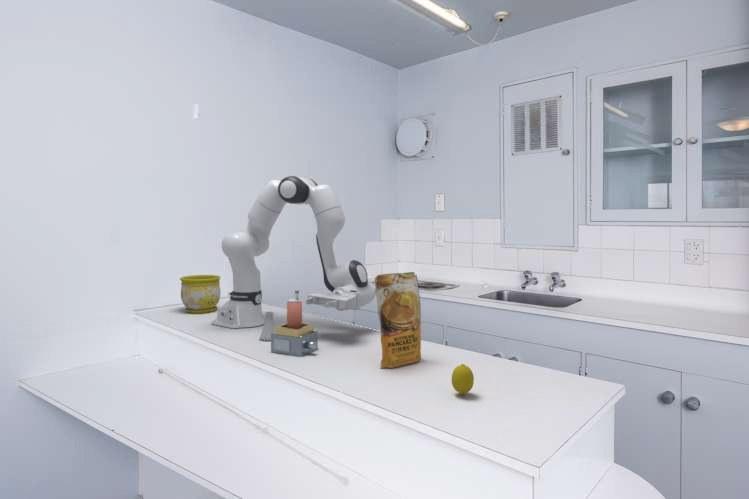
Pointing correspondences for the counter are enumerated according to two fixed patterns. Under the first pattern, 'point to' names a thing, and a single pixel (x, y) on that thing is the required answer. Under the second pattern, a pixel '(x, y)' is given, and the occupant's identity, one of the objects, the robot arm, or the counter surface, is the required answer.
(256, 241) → the robot arm
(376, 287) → the pancake mix bag
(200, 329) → the counter surface
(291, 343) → the box
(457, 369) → the lemon
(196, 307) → the flowerpot
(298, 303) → the spout can
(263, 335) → the flask
